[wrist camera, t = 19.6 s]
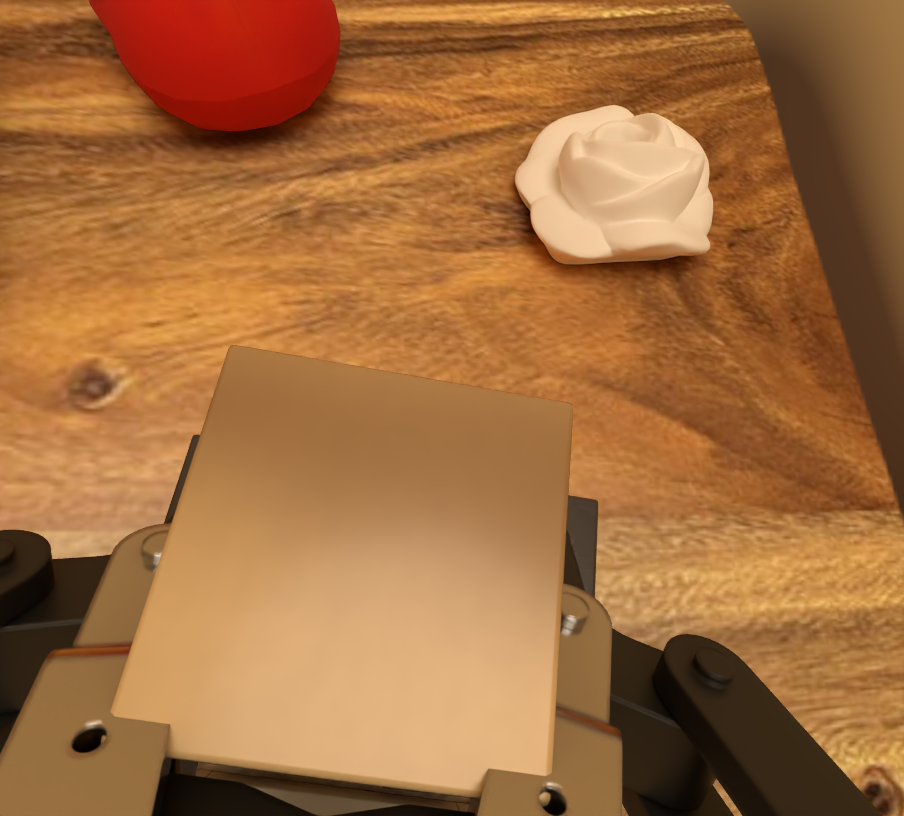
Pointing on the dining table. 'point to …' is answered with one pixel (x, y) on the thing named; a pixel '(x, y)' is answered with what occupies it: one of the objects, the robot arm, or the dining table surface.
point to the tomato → (226, 56)
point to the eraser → (363, 579)
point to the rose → (617, 188)
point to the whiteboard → (329, 795)
